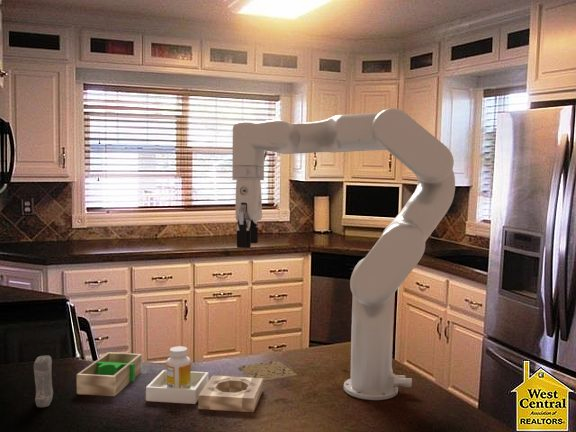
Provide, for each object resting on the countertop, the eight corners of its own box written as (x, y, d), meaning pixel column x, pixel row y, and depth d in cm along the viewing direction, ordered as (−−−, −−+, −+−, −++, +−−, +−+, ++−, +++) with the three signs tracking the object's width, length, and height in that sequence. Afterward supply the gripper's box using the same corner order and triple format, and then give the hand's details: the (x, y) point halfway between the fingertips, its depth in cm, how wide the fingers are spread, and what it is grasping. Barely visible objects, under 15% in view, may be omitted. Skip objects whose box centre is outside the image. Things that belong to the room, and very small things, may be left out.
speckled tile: (254, 384, 135) (254, 380, 135) (236, 368, 146) (236, 365, 146) (298, 377, 140) (298, 373, 140) (278, 362, 151) (278, 359, 151)
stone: (54, 397, 124) (54, 353, 124) (49, 407, 119) (49, 361, 118) (37, 399, 124) (37, 354, 123) (32, 408, 118) (31, 362, 118)
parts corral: (141, 371, 142) (141, 354, 141) (114, 396, 126) (114, 376, 125) (108, 369, 143) (107, 352, 142) (76, 393, 127) (76, 374, 126)
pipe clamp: (87, 383, 133) (86, 366, 133) (94, 378, 137) (94, 361, 136) (128, 385, 131) (128, 367, 131) (135, 380, 135) (134, 362, 135)
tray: (208, 385, 133) (208, 372, 133) (195, 403, 122) (195, 390, 122) (163, 382, 134) (163, 369, 134) (145, 400, 123) (145, 387, 123)
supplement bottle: (192, 385, 131) (192, 345, 130) (188, 394, 125) (188, 352, 125) (169, 385, 131) (169, 345, 130) (164, 394, 125) (164, 352, 125)
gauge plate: (262, 390, 130) (262, 378, 130) (253, 412, 118) (253, 398, 118) (212, 387, 131) (212, 375, 131) (198, 408, 119) (198, 395, 119)
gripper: (257, 174, 124) (256, 250, 125) (269, 174, 141) (268, 241, 142) (224, 173, 125) (224, 249, 126) (240, 174, 142) (239, 240, 143)
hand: (247, 245), depth 134 cm, fingers open, 9 cm apart
